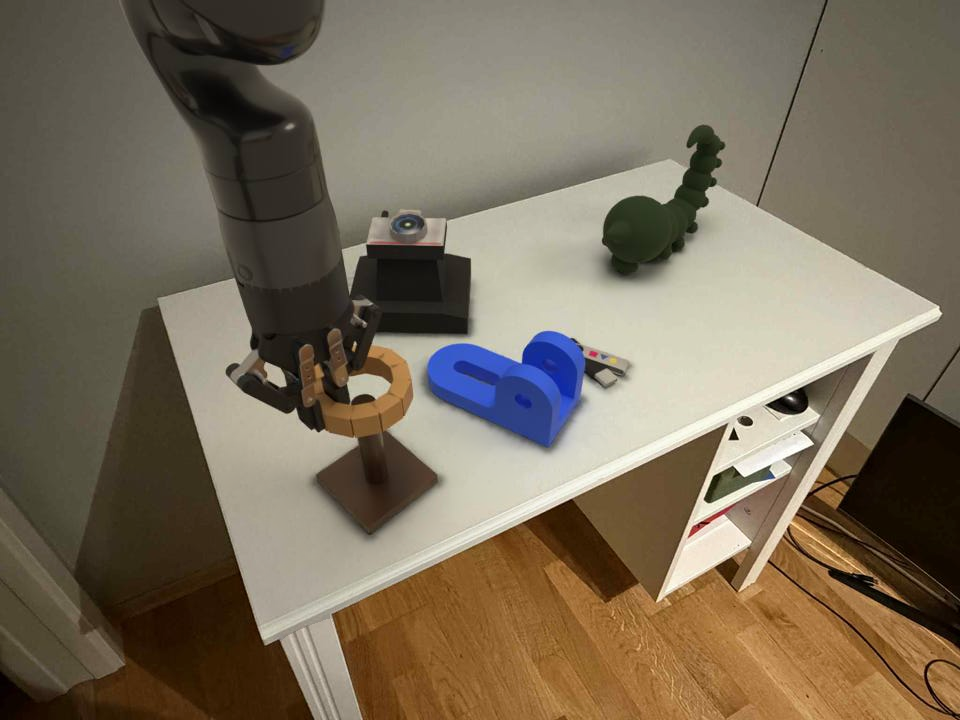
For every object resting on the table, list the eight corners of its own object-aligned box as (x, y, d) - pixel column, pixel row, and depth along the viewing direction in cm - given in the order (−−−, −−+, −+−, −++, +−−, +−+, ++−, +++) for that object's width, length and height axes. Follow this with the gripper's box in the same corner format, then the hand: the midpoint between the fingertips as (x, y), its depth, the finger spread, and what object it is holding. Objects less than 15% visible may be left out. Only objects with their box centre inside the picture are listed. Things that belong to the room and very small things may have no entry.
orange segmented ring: (351, 454, 53) (347, 436, 52) (290, 397, 58) (284, 379, 56) (432, 398, 58) (431, 379, 56) (370, 349, 63) (367, 331, 61)
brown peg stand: (370, 535, 62) (353, 458, 54) (317, 481, 67) (294, 402, 59) (438, 481, 67) (432, 403, 59) (384, 434, 72) (372, 355, 63)
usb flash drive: (558, 348, 82) (559, 342, 81) (590, 333, 84) (591, 328, 83) (603, 389, 77) (604, 383, 76) (635, 372, 79) (637, 366, 78)
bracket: (579, 400, 76) (588, 343, 69) (548, 447, 70) (555, 391, 64) (452, 347, 82) (450, 291, 76) (414, 386, 77) (409, 330, 71)
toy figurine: (662, 223, 107) (569, 273, 93) (694, 108, 95) (592, 146, 81) (712, 245, 102) (622, 301, 88) (752, 127, 90) (655, 171, 76)
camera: (329, 252, 74) (350, 179, 84) (349, 336, 85) (365, 263, 95) (465, 254, 74) (470, 180, 84) (467, 339, 85) (472, 265, 95)
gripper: (336, 198, 49) (363, 359, 61) (166, 270, 42) (234, 437, 54) (398, 235, 46) (414, 400, 58) (222, 322, 39) (282, 489, 51)
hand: (326, 417), depth 56 cm, fingers closed on orange segmented ring, 1 cm apart
